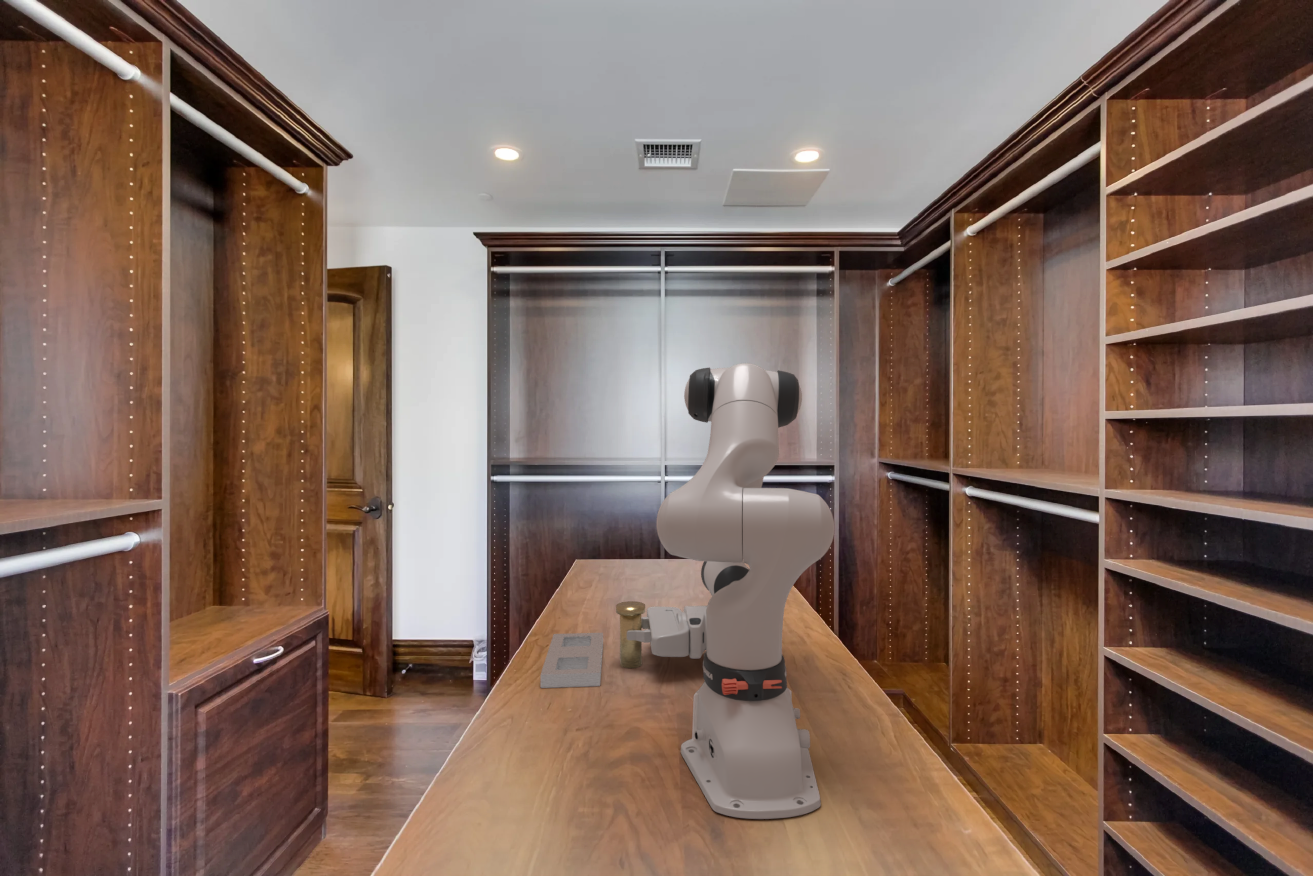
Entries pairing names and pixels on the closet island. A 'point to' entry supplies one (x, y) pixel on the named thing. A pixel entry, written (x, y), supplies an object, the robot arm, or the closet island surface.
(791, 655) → the closet island surface
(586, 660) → the plate
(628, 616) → the brass capped peg
